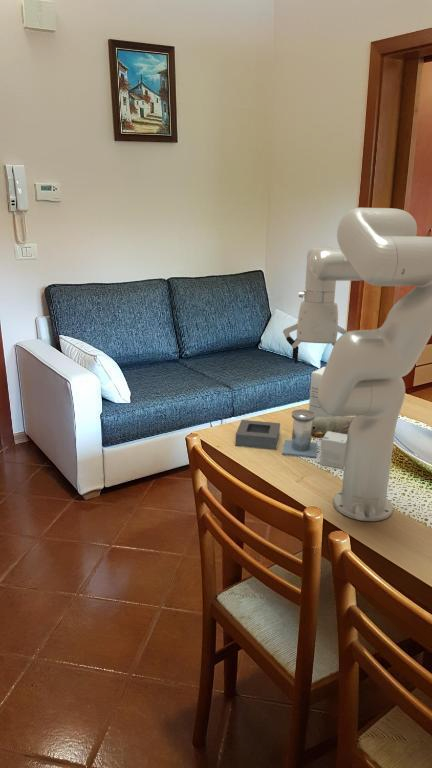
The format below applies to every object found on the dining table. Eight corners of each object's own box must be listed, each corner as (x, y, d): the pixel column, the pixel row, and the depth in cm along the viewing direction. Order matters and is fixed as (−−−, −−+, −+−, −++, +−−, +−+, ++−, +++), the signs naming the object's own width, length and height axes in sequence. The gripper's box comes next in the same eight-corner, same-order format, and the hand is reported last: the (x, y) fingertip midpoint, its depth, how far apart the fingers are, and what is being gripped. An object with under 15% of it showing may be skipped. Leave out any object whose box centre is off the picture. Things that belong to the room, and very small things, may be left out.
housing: (276, 449, 152) (276, 437, 151) (235, 445, 154) (235, 434, 153) (279, 434, 163) (280, 423, 162) (241, 430, 165) (241, 419, 164)
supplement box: (319, 409, 184) (323, 365, 179) (345, 416, 179) (349, 370, 174) (307, 417, 177) (310, 371, 172) (333, 424, 172) (337, 377, 167)
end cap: (311, 453, 149) (314, 418, 146) (289, 451, 150) (291, 416, 147) (312, 444, 155) (315, 410, 152) (290, 442, 156) (292, 408, 153)
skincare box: (348, 460, 147) (350, 434, 145) (342, 469, 142) (345, 442, 139) (325, 456, 149) (327, 430, 147) (319, 464, 144) (321, 438, 142)
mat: (316, 458, 148) (316, 456, 147) (282, 454, 149) (282, 452, 149) (317, 444, 156) (317, 442, 156) (284, 441, 158) (284, 439, 157)
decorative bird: (308, 431, 166) (310, 407, 163) (364, 437, 162) (367, 413, 160) (307, 438, 161) (309, 414, 158) (365, 444, 157) (368, 419, 155)
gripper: (284, 298, 139) (280, 364, 144) (355, 301, 137) (349, 368, 142) (285, 294, 146) (282, 357, 151) (353, 296, 144) (347, 361, 149)
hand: (314, 363), depth 146 cm, fingers open, 9 cm apart
